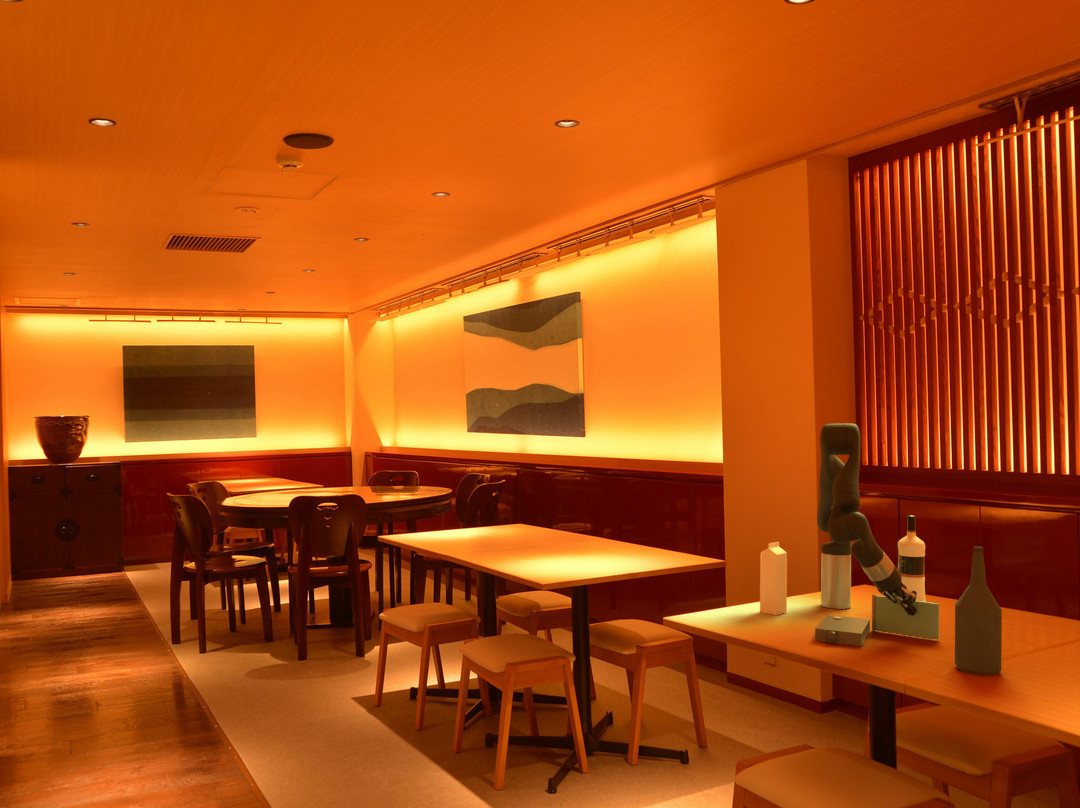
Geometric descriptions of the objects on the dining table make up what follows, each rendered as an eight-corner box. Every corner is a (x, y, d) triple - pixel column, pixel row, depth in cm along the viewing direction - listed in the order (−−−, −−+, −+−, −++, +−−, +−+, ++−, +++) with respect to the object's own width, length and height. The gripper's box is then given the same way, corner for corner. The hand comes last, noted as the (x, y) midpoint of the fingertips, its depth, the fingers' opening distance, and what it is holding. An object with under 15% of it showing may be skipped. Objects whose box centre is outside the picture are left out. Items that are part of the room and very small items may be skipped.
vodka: (923, 611, 285) (923, 517, 286) (892, 608, 291) (893, 515, 291) (929, 607, 293) (929, 515, 294) (899, 603, 298) (899, 513, 299)
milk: (786, 613, 281) (787, 542, 281) (776, 615, 277) (777, 544, 277) (769, 609, 285) (771, 540, 286) (759, 612, 281) (760, 542, 282)
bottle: (1004, 669, 219) (1004, 546, 219) (998, 678, 211) (999, 550, 211) (958, 662, 225) (958, 542, 225) (951, 671, 216) (951, 546, 217)
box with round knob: (826, 626, 262) (826, 613, 262) (870, 631, 257) (870, 617, 257) (814, 642, 243) (814, 628, 243) (860, 648, 238) (860, 633, 238)
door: (871, 630, 257) (871, 594, 257) (872, 630, 258) (872, 594, 258) (937, 641, 246) (938, 603, 246) (939, 640, 247) (939, 602, 247)
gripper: (906, 563, 240) (939, 607, 244) (870, 556, 252) (902, 598, 257) (891, 584, 238) (924, 628, 242) (855, 576, 250) (887, 618, 254)
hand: (913, 613), depth 249 cm, fingers closed
